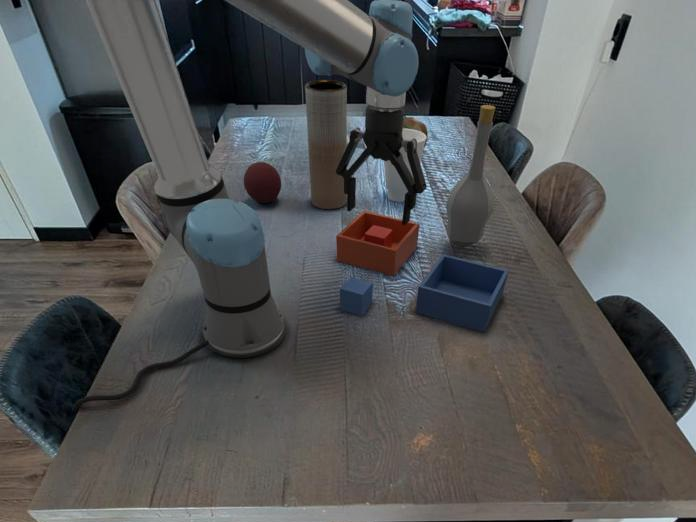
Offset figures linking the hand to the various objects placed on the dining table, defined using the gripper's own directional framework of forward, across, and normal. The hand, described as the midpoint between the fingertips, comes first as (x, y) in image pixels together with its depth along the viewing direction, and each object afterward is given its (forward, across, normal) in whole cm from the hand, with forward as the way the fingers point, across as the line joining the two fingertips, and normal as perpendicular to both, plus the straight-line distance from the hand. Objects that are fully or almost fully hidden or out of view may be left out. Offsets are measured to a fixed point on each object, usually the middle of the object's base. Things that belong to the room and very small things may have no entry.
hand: (377, 215), depth 107 cm
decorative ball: (+10, +40, -13) cm, 43 cm away
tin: (+8, +20, -75) cm, 78 cm away
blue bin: (+9, -24, +10) cm, 28 cm away
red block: (+9, 0, -1) cm, 9 cm away
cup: (+9, +8, -34) cm, 36 cm away
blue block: (+10, -5, +21) cm, 24 cm away
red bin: (+9, 0, -1) cm, 9 cm away
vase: (+9, +24, -21) cm, 33 cm away
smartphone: (+9, +43, -65) cm, 78 cm away
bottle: (+9, -17, -14) cm, 24 cm away
